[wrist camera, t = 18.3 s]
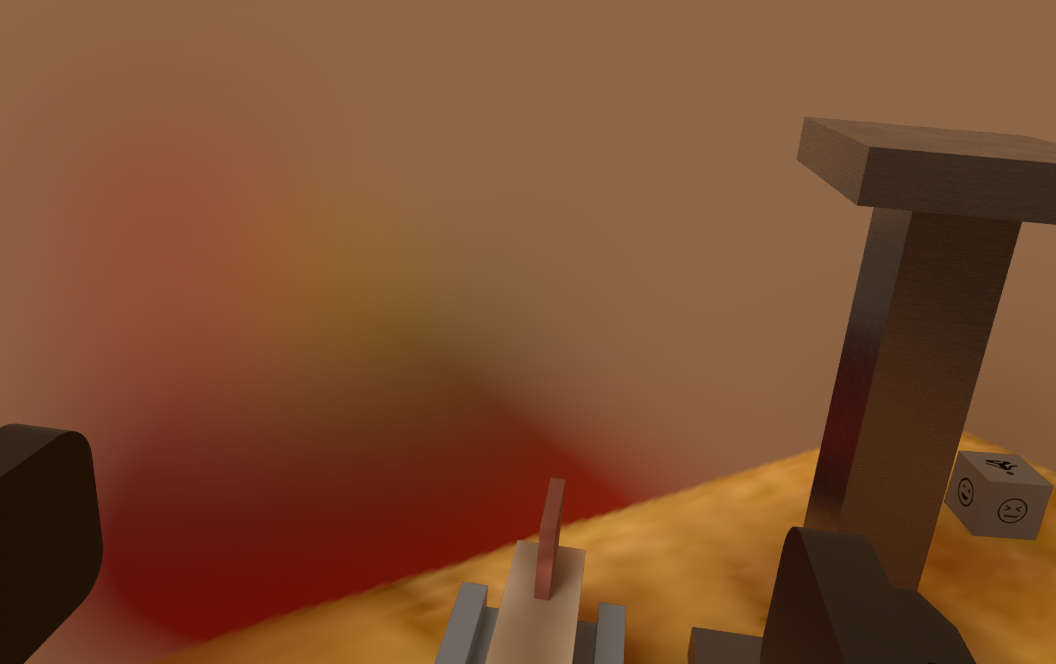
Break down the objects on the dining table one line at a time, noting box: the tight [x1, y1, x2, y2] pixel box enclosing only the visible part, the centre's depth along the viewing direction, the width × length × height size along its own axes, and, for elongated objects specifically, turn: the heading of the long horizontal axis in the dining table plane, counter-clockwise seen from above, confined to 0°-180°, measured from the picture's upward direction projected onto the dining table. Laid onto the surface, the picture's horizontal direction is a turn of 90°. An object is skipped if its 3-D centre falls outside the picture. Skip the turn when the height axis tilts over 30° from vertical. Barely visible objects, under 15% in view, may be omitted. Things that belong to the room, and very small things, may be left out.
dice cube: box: [944, 451, 1053, 540], centre depth 67 cm, size 5×5×5 cm
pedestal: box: [688, 117, 1056, 664], centre depth 38 cm, size 12×12×32 cm
